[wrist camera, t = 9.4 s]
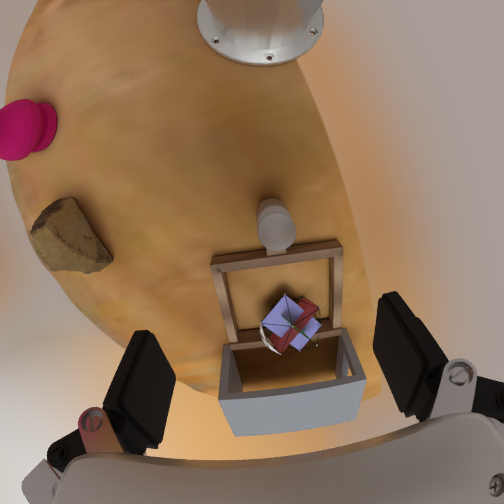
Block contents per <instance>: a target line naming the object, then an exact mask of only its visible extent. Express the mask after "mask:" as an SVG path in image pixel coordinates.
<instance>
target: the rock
mask: <svg viewBox="0 0 504 504" xmlns="http://www.w3.org/2000/svg"><path fill="white" fill-rule="evenodd" d="M30 235H31V236H32V237H33V239H34V241H33V244H34V247H35V250H36V252H37V254H38V255H39V256H40V258H41V259H42V260H43V261H44V263H45V264H47V265H48V267H49V268H50V270H51V271H54V272H55V271H60V270H66V271H80V272H83V273H84V274H90V273H92V272H99V271H101V270H102V269H104V268H105V267H106V266H108V265H109V264H111V263H112V262H113V259H112V258H111V256H110V254H109V253H108V252H107V251H106V249H105V248H104V247H103V245H102V244H101V242H100V241H99V239H98V237H97V236H96V235H95V233H94V232H93V230H92V229H91V226H90V224H89V222H88V221H87V220H86V218H85V216H84V215H83V213H82V212H81V210H80V209H79V207H78V205H77V203H76V201H75V200H74V199H73V198H64V199H59V200H57V201H55V202H53V203H52V204H50V205H49V206H48V207H46V208H45V209H44V210H43V211H42V212H41V214H40V216H39V217H38V218H37V220H36V221H35V222H34V225H33V226H32V230H31V231H30Z"/></svg>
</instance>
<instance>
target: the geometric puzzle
mask: <svg viewBox="0 0 504 504" xmlns="http://www.w3.org/2000/svg"><path fill="white" fill-rule="evenodd" d="M287 296H288V295H287ZM287 296H286V295H285V294H284V296H282V297H281V300H280V301H279V302H278V303H277V304H275V305H276V306H275V307H273V304H272V305H271V306H272V307H273V309H272V310H271V312H270V313H269V314H268V315H267V316H266V317H265V319H264V318H263V319H264V320H262V322H261V323H260V324H261V325H264V326H265V327H267V328H268V329H269V331H270V330H271V331H272V332H274V333H273V334H272V335H271V336H270V338H267V337H268V336H269V335H268V336H267V337H265V336H264V332H263V329H264V327H263V326H261V325H260V333H261V335H262V336H261V338H262V337H263V338H264V339H263V338H262V339H263V342H264V344H265V345H266V346H267V345H268V346H269V347H268V346H267V347H268V348H269V349H270V350H272V351H274V352H276V353H278V352H279V353H280V355H281V353H282V352H283V351H284V350H285V349H286V347H287V346H288V345H289V344H291V345H292V346H293V347H295V348H296V350H297V349H298V351H301V349H302V348H303V347H304V346H305V344H306V343H307V342H308V341H309V340H310V341H312V340H311V337H312V336H313V335H314V334H315V333H316V331H317V330H318V329H319V328H320V327H321V326H322V323H319V322H320V321H319V320H318V321H319V322H318V321H316V320H315V319H314V318H313V316H314V314H315V313H316V312H317V311H318V309H319V314H320V315H321V313H320V308H321V307H318V306H317V305H315V304H314V303H312V302H311V301H309V300H308V299H306V298H305V297H301V296H299V297H301V298H303V299H302V300H300V302H299V303H298V305H297V304H296V303H295V302H293V301H292V300H291V299H290V298H289V297H290V296H289V297H287ZM291 296H293V295H291ZM292 298H293V297H292ZM298 299H300V298H298ZM298 299H297V300H298ZM294 300H296V298H294ZM277 301H278V300H277ZM277 301H276V302H277ZM269 309H270V308H269ZM266 314H267V313H266ZM315 316H316V315H315ZM316 318H317V317H316ZM317 319H318V318H317ZM262 327H263V329H262ZM320 330H321V329H320ZM264 331H266V330H264ZM265 333H267V332H265ZM266 335H267V334H266ZM319 335H320V334H319ZM318 339H319V338H318V336H317V340H318ZM269 340H270V341H271V343H272V344H273V345H274V347H275V348H276V349H277V351H278V352H277V351H276V350H275V349H274V348H273V347H272V346H271V345H270V343H269ZM312 342H313V341H312ZM313 343H314V342H313ZM317 343H318V342H317ZM314 344H316V343H314ZM314 346H318V345H317V344H316V345H314ZM288 347H289V346H288ZM311 347H313V346H311ZM291 348H292V347H291ZM295 348H293V349H295ZM307 348H308V347H307ZM307 348H306V349H307ZM309 348H310V347H309ZM296 350H295V351H296ZM303 350H304V348H303ZM291 352H292V351H291ZM291 352H290V353H291ZM279 353H278V354H279ZM287 353H288V352H287ZM283 354H285V353H283Z"/></svg>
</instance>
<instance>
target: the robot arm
mask: <svg viewBox="0 0 504 504" xmlns="http://www.w3.org/2000/svg"><path fill="white" fill-rule="evenodd" d="M322 2H323V0H201V2H200V4H199V7H198V11H197V24H198V28H199V31H200V33H201V35H202V37H203V38H204V40H205V41H206V43H207V44H208V45H209V46H210V47H211V48H212V49H213V50H214V51H215V52H217V53H218V54H220V55H222V56H223V57H225V58H227V59H229V60H232V61H234V62H237V63H241V64H245V65H252V66H274V65H279V64H284V63H287V62H290V61H292V60H295V59H297V58H299V57H300V56H302V55H303V54H305V53H306V52H307V51H309V50H310V49H311V48H312V47H313V46H314V44H315V43H316V42H317V40H318V39H319V37H320V35H321V33H322V29H323V25H324V16H323V11H322V8H321V3H322ZM310 32H311V33H313V34H314V35H312V34H310ZM215 41H219V43H216V44H215V43H214V42H215ZM267 57H271V59H272V60H267ZM373 351H374V354H375V356H376V358H377V360H378V362H379V365H380V367H381V369H382V371H383V373H384V375H385V378H386V380H387V383H388V385H389V387H390V389H391V392H392V394H393V396H394V399H395V401H396V404H397V406H398V408H399V411H400V412H401V413H402V412H404V414H405V416H406V418H407V417H410V416H412V415H415V416H416V418H417V419H418V422H417V424H414V425H411V426H408V427H406V428H403V429H400V430H397V431H394V432H391V433H388V434H385V435H381V436H378V437H375V438H371V439H368V440H365V441H361V442H357V443H353V444H349V445H345V446H341V447H336V448H332V449H327V450H322V451H317V452H311V453H305V454H299V455H291V456H285V457H274V458H265V459H250V460H186V459H170V458H161V457H151V456H147V454H146V453H145V452H146V448H152V449H158V445H159V443H161V442H162V440H163V435H164V430H165V426H166V421H167V416H168V412H169V408H170V403H171V398H172V395H173V390H174V386H175V382H176V376H175V373H174V371H173V369H172V367H171V366H170V364H169V362H168V360H167V358H166V357H165V355H164V353H163V351H162V349H161V347H160V345H159V343H158V341H157V339H156V337H155V335H154V334H153V333H150V331H149V330H138V331H135V332H134V334H133V336H132V338H131V340H130V342H129V344H128V346H127V349H126V351H125V353H124V355H123V357H122V360H121V362H120V364H119V366H118V369H117V371H116V373H115V375H114V378H113V380H112V382H111V385H110V387H109V389H108V392H107V395H106V397H105V399H104V402H103V408H102V409H101V408H99V407H91V408H89V409H87V410H85V411H84V412H83V413H82V414H81V416H80V418H79V421H78V429H77V430H75V431H73V432H72V433H70V434H68V435H66V436H65V437H63V438H61V439H59V440H58V441H56V442H54V443H53V444H51V446H50V447H49V449H48V451H47V460H45V459H43V460H42V461H41V462H40V463H39V464H38V465H37V466H36V467H35V468H34V469H33V470H32V471H31V472H30V473H29V474H28V475H27V476H26V477H25V478H24V480H23V481H22V491H23V494H24V495H25V497H26V499H27V500H28V502H29V503H30V504H504V383H503V382H499V381H495V380H491V379H487V378H484V377H479V376H477V371H476V369H475V367H474V365H473V364H472V363H471V362H469V361H467V360H465V359H453V360H451V361H449V360H448V359H447V357H446V356H445V354H444V353H443V351H442V350H441V348H440V347H439V345H438V344H437V342H436V341H435V339H434V338H433V336H432V335H431V334H430V332H429V331H428V329H427V328H426V326H425V325H424V324H423V322H422V321H421V320H420V319H419V318H418V317H415V315H414V314H413V312H412V311H411V310H410V308H409V307H408V306H407V304H406V303H405V302H404V300H403V299H402V298H401V296H400V295H399V294H398V292H396V291H393V292H389V293H385V294H383V295H382V298H379V300H378V308H377V317H376V325H375V333H374V340H373Z"/></svg>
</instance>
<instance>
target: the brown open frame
mask: <svg viewBox="0 0 504 504" xmlns="http://www.w3.org/2000/svg"><path fill="white" fill-rule="evenodd" d="M256 215H257V226H258V237H259V240H260V242H261V243H262V245H263V246H264V247H266V250H260V251H253V252H245V253H238V254H231V255H224V256H216V257H212V260H211V264H210V267H211V271H212V275H213V280H214V284H215V288H216V292H217V296H218V300H219V304H220V307H221V311H222V315H223V319H224V323H225V326H226V330H227V334H228V338H229V341H230V348H231V350H239V349H249V348H258V347H267V346H268V345H267V346H266V345H265V344H264V342H263V339H264V338H263V337H262V338H263V339H262V338H261V336H262V335H261V333H260V329H256V330H247V331H238V328H237V324H236V320H235V316H234V311H233V307H232V303H231V298H230V294H229V289H228V285H227V280H226V276H225V272H229V271H237V270H244V269H252V268H259V267H267V266H274V265H281V264H289V263H296V262H303V261H310V260H317V259H324V258H330V315H329V319H325V320H319V321H320V322H319V321H318V322H319V323H322V326H321V327H320V328H319V329H318V330H317V331H316V333H315V334H314V335H313V336H312V337H311V340H315V339H317V336H318V338H319V339H321V338H327V337H332V336H338V335H341V313H342V288H343V246H342V245H341V244H340V243H339V241H338V240H333V241H326V242H319V243H311V244H304V245H297V246H290V245H291V244H292V243H293V242H294V240H295V238H296V227H295V225H294V222H293V220H292V218H291V216H290V214H289V212H288V210H287V208H286V206H285V204H284V203H283V202H282V201H280V199H279V198H269V199H266V200H261V201H260V204H259V206H258V208H257V212H256ZM320 329H321V330H320ZM264 330H266V331H264ZM263 332H264V336H265V337H267V336H268V335H269V336H268V337H267V338H270V336H271V335H272V334H273V333H274V332H272V331H271V330H270V331H269V329H268V328H264V329H263ZM265 332H267V333H265ZM266 334H267V335H266ZM319 334H320V335H319ZM269 343H270V345H271V346H274V345H273V344H272V343H271V341H270V340H269Z"/></svg>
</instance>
